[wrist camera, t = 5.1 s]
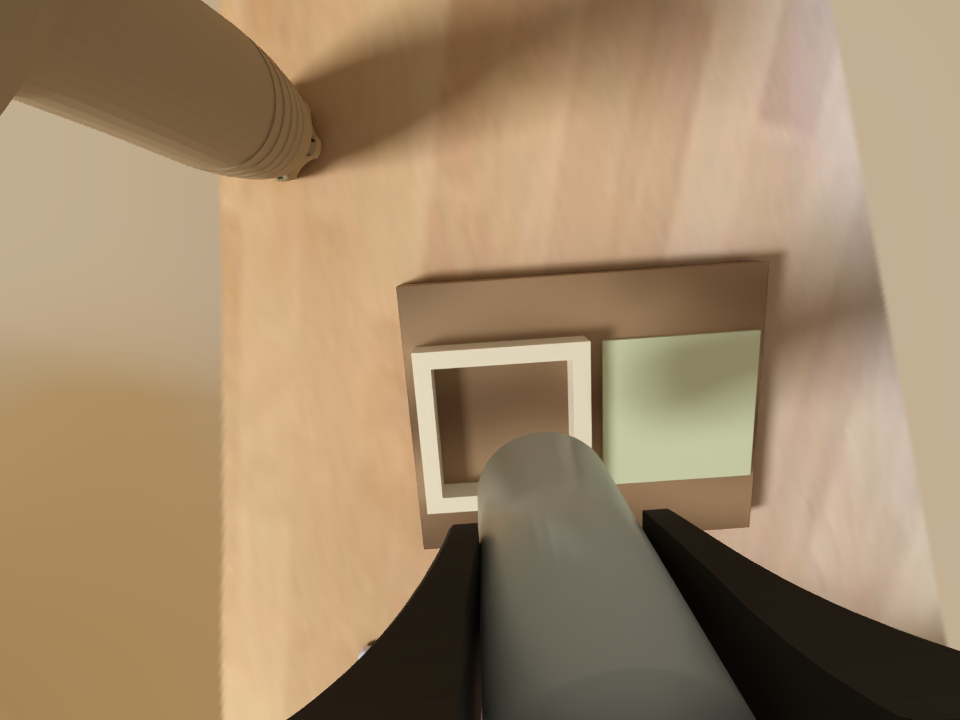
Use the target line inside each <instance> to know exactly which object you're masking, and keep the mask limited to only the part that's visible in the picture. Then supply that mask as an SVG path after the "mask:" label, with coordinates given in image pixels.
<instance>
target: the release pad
mask: <svg viewBox="0 0 960 720" xmlns="http://www.w3.org/2000/svg"><path fill="white" fill-rule="evenodd" d="M760 336H761V330H745V331H731V332H716V333H701V334H686V335H672V336H657V337H642V338H627V339H613V340H602V462H603V463H604V465H605V467H606V469H607V470H608V472H609V474H610V475H611V477H612V479H613V480H614V482H615V484H625V483H640V482H655V481H670V480H684V479H699V478H714V477H728V476H743V475H750V473H751V459H752V445H753V432H754V418H755V404H756V391H757V377H758V363H759V350H760Z"/></svg>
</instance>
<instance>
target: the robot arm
mask: <svg viewBox="0 0 960 720" xmlns="http://www.w3.org/2000/svg"><path fill="white" fill-rule="evenodd" d="M642 529H643V531H644V532H645V534H646V536H647V537H648V539H649V541H650V542H651V544H652V546H653V547H654V549H655V551H656V552H657V554H658V556H659V557H660V559H661V561H662V562H663V564H664V566H665V568H666V569H667V571H668V573H669V574H670V576H671V578H672V579H673V581H674V583H675V584H676V586H677V588H678V589H679V591H680V593H681V594H682V596H683V598H684V599H685V601H686V603H687V604H688V606H689V608H690V609H691V611H692V613H693V615H694V616H695V618H696V620H697V621H698V623H699V625H700V626H701V628H702V630H703V631H704V633H705V635H706V636H707V638H708V640H709V641H710V643H711V645H712V646H713V648H714V650H715V651H716V653H717V655H718V656H719V658H720V660H721V661H722V663H723V665H724V667H725V668H726V670H727V672H728V673H729V675H730V677H731V678H732V680H733V682H734V683H735V685H736V687H737V688H738V690H739V692H740V693H741V695H742V697H743V698H744V700H745V702H746V703H747V705H748V707H749V708H750V710H751V712H752V714H753V715H754V717H755V719H756V720H960V651H958V650H955V649H952V648H949V647H946V646H943V645H940V644H937V643H934V642H931V641H928V640H925V639H922V638H919V637H917V636H914V635H911V634H908V633H906V632H903V631H900V630H897V629H895V628H892V627H890V626H887V625H885V624H882V623H880V622H877V621H875V620H872V619H870V618H867V617H865V616H862V615H860V614H857V613H855V612H852V611H850V610H848V609H846V608H843V607H841V606H839V605H836V604H834V603H832V602H830V601H828V600H826V599H824V598H821V597H819V596H817V595H815V594H813V593H811V592H809V591H807V590H805V589H803V588H800V587H798V586H796V585H795V584H793V583H791V582H789V581H787V580H785V579H783V578H781V577H779V576H778V575H776V574H774V573H772V572H770V571H769V570H767V569H765V568H763V567H761V566H760V565H758V564H756V563H754V562H753V561H751V560H749V559H748V558H746V557H744V556H742V555H741V554H739V553H738V552H736V551H734V550H733V549H731V548H729V547H728V546H726V545H725V544H723V543H721V542H720V541H718V540H717V539H715V538H714V537H712V536H710V535H709V534H707V533H706V532H704V531H703V530H701V529H700V528H698V527H697V526H695V525H693V524H692V523H690V522H689V521H687V520H686V519H684V518H683V517H681V516H679V515H678V514H676V513H675V512H673V511H671V510H669V509H667V508H666V509H653V510H642ZM479 589H480V543H479V532H478V523H468V524H455V525H452V526H451V527H450V529H449V530H448V533H447V535H446V538H445V540H444V542H443V544H442V546H441V548H440V550H439V552H438V554H437V556H436V558H435V560H434V561H433V563H432V565H431V566H430V568H429V570H428V571H427V573H426V575H425V577H424V578H423V580H422V581H421V583H420V584H419V586H418V587H417V589H416V590H415V592H414V593H413V595H412V596H411V598H410V599H409V601H408V602H407V603H406V605H405V606H404V608H403V609H402V610H401V612H400V613H399V614H398V616H397V617H396V618H395V619H394V621H393V622H392V623H391V624H390V625H389V627H388V628H387V629H386V630H385V631H384V633H383V634H382V635H381V636H380V637H379V638H378V640H377V641H376V642H375V643H374V644H373V645H372V646H365V647H363V648H362V649H361V650H360V653H359V656H358V661H357V662H356V663H355V664H354V665H353V666H352V667H351V668H350V669H349V670H347V671H346V672H345V673H344V674H343V675H342V676H341V677H340V678H339V679H337V680H336V681H335V682H334V683H333V684H332V685H331V686H329V687H328V688H327V689H326V690H325V691H323V692H322V693H321V694H320V695H319V696H317V697H316V698H315V699H314V700H312V701H311V702H310V703H309V704H307V705H306V706H305V707H304V708H302V709H301V710H300V711H298V712H297V713H295V714H294V715H293V716H291V717H290V718H288V719H287V720H482V690H481V642H480V590H479Z"/></svg>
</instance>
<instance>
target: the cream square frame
mask: <svg viewBox="0 0 960 720" xmlns="http://www.w3.org/2000/svg"><path fill="white" fill-rule="evenodd" d="M411 358H412V368H413V377H414V387H415V397H416V407H417V416H418V426H419V436H420V446H421V455H422V465H423V475H424V485H425V495H426V504H427V514H439V513H454V512H468V511H478V498H477V490H478V483H479V482H471V483H457V484H444V476H443V466H442V455H441V444H440V433H439V422H438V411H437V400H436V389H435V378H434V369H447V368H462V367H476V366H491V365H506V364H521V363H535V362H550V361H565V360H567V371H568V413H569V436H572V437H575V438H577V439H579V440H580V441H582V442H584V443H585V444H587V445H588V446H589V447H591V448H592V423H591V341H590V340H588V339H587V338H586V337H585V336H570V337H555V338H540V339H525V340H511V341H496V342H481V343H466V344H452V345H437V346H422V347H414V349H413V351H412V353H411Z"/></svg>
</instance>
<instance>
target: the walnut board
mask: <svg viewBox="0 0 960 720" xmlns="http://www.w3.org/2000/svg"><path fill="white" fill-rule="evenodd" d="M768 271H769V262H766V261H740V262H726V263H711V264H696V265H681V266H667V267H652V268H637V269H622V270H608V271H593V272H578V273H563V274H549V275H534V276H519V277H504V278H490V279H475V280H460V281H445V282H431V283H416V284H401V285H399V286H397V287H396V291H397V300H398V310H399V319H400V328H401V338H402V347H403V357H404V366H405V375H406V385H407V394H408V404H409V413H410V422H411V432H412V441H413V451H414V460H415V469H416V479H417V488H418V498H419V507H420V516H421V526H422V535H423V545H424V549H436V548H441V546H442V544H443V542H444V540H445V538H446V535H447V533H448V530H449V529H450V527H451V526H452V525H455V524H468V523H478V511H468V512H454V513H439V514H427V504H426V495H425V485H424V475H423V465H422V455H421V446H420V436H419V426H418V416H417V407H416V397H415V387H414V377H413V368H412V358H411V353H412V351H413V349H414V347H422V346H437V345H452V344H466V343H481V342H496V341H511V340H525V339H540V338H555V337H570V336H585V337H586V338H587V339H588V340H590V341H591V423H592V449H593V450H594V451H595V452H596V453H597V455H598V456H599V457H600V459H601V460H602V340H613V339H627V338H642V337H657V336H672V335H686V334H701V333H716V332H731V331H745V330H761V336H760V350H759V363H758V377H757V391H756V404H755V418H754V432H753V445H752V459H751V473H750V475H743V476H728V477H714V478H699V479H684V480H670V481H655V482H640V483H625V484H616V485H617V487H618V489H619V490H620V492H621V494H622V495H623V497H624V499H625V500H626V502H627V504H628V505H629V507H630V509H631V510H632V512H633V514H634V515H635V517H636V519H637V521H638V522H639V524H640V526H641V527H642V510H653V509H666V508H667V509H669V510H671V511H673V512H675V513H676V514H678V515H679V516H681V517H683V518H684V519H686V520H687V521H689V522H690V523H692V524H693V525H695V526H697V527H698V528H700V529H701V530H715V529H730V528H745V527H749V524H750V511H751V498H752V484H753V471H754V458H755V444H756V431H757V417H758V404H759V391H760V377H761V364H762V351H763V337H764V324H765V311H766V297H767V284H768ZM434 378H435V389H436V400H437V411H438V422H439V433H440V444H441V455H442V466H443V476H444V484H457V483H471V482H479V479H480V476H481V473H482V471H483V469H484V467H485V465H486V464H487V462H488V460H489V459H490V458H491V457H492V456H493V454H494V453H495V452H496V451H498V450H499V449H500V448H501V447H502V446H504V445H505V444H506V443H508V442H510V441H512V440H513V439H515V438H518V437H520V436H523V435H526V434H530V433H536V432H557V433H562V434H566V435H569V413H568V371H567V360H565V361H550V362H535V363H521V364H506V365H491V366H476V367H462V368H447V369H434Z"/></svg>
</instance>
